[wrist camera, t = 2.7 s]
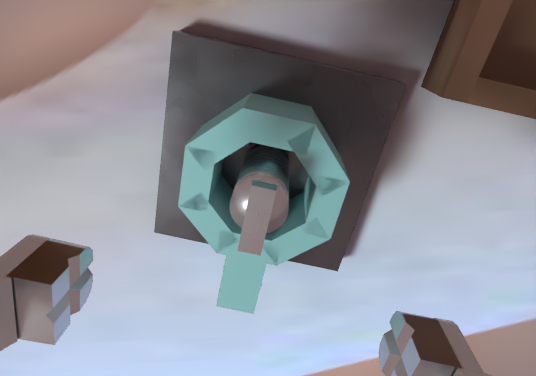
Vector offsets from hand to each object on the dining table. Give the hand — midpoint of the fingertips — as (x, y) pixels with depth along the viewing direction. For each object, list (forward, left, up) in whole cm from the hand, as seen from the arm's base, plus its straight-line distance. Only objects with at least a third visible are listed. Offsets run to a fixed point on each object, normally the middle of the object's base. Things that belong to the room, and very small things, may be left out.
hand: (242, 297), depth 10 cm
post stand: (0, 0, -10) cm, 10 cm away
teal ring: (+1, 0, -9) cm, 9 cm away
